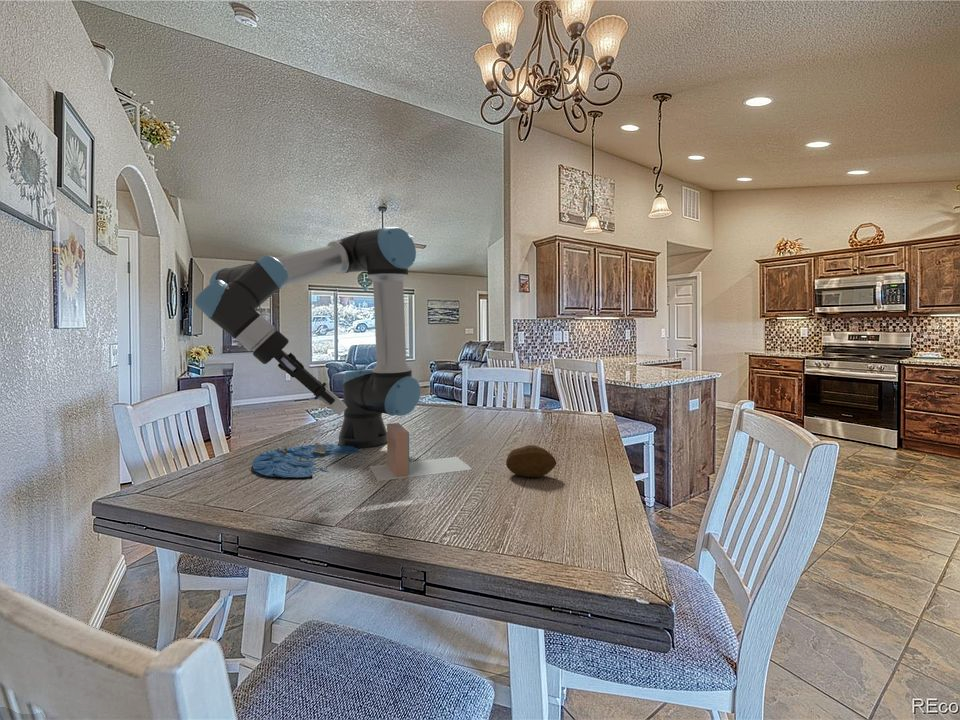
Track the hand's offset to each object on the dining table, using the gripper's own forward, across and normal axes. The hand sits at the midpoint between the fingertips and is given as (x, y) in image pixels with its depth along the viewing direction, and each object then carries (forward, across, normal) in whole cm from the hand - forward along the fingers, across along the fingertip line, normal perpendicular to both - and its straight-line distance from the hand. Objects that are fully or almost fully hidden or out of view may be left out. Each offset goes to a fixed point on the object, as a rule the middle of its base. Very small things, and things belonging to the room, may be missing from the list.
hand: (342, 409), depth 112 cm
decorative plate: (+8, -19, -17) cm, 27 cm away
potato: (+43, +14, +18) cm, 49 cm away
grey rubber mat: (+26, 0, +1) cm, 26 cm away
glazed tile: (+21, 0, -2) cm, 21 cm away
